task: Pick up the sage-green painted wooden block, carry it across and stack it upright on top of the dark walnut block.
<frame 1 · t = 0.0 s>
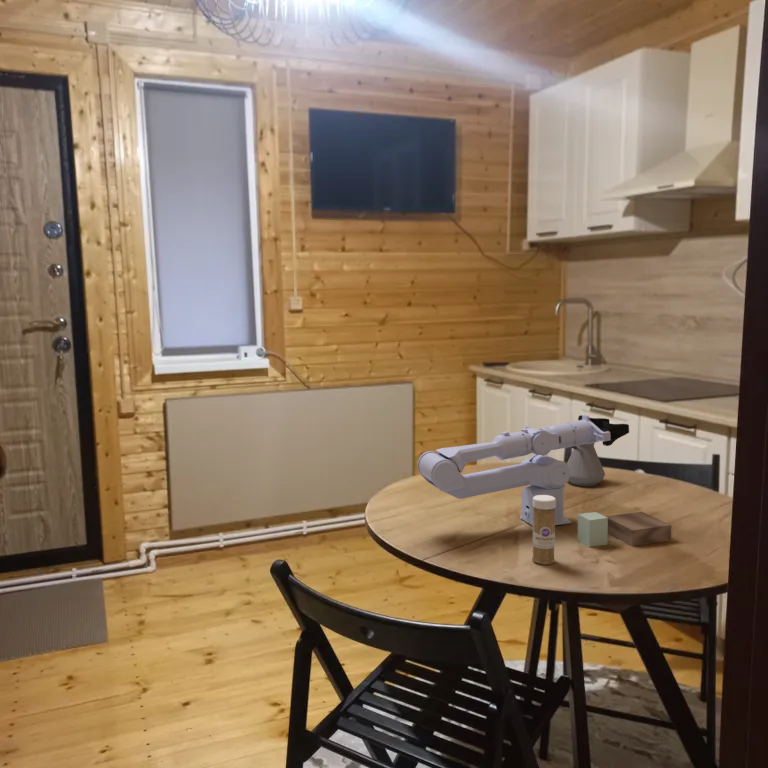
hand: (618, 425, 172), 22 cm above the table, fingers open, 7 cm apart
walnut block: (636, 535, 158), on the table
sage block: (592, 542, 154), on the table
coffee pot: (577, 487, 198), on the table
sprinkles bottle: (543, 562, 144), on the table
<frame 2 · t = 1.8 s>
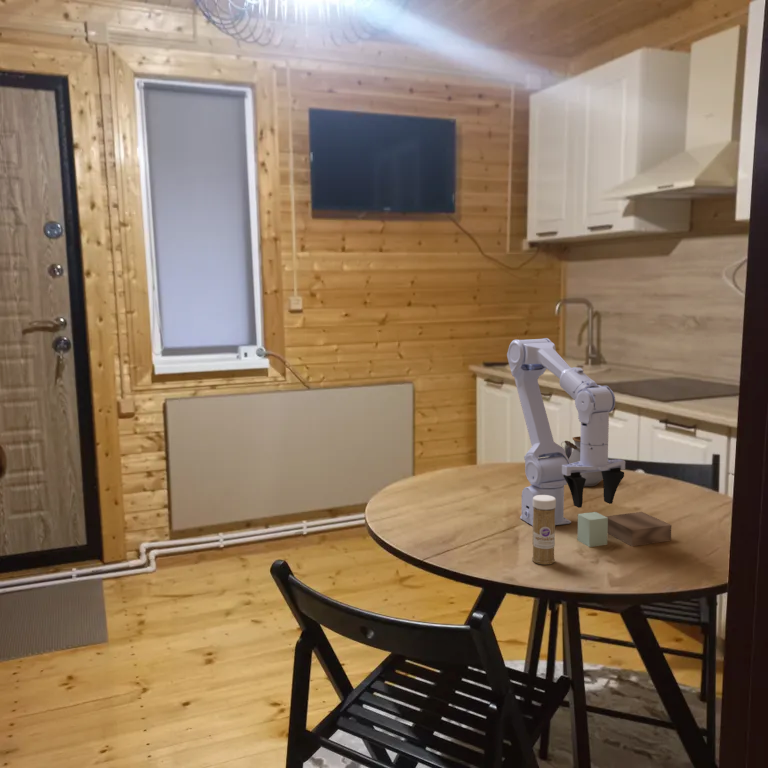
hand: (593, 504, 153), 9 cm above the table, fingers open, 7 cm apart
nothing on the table moved.
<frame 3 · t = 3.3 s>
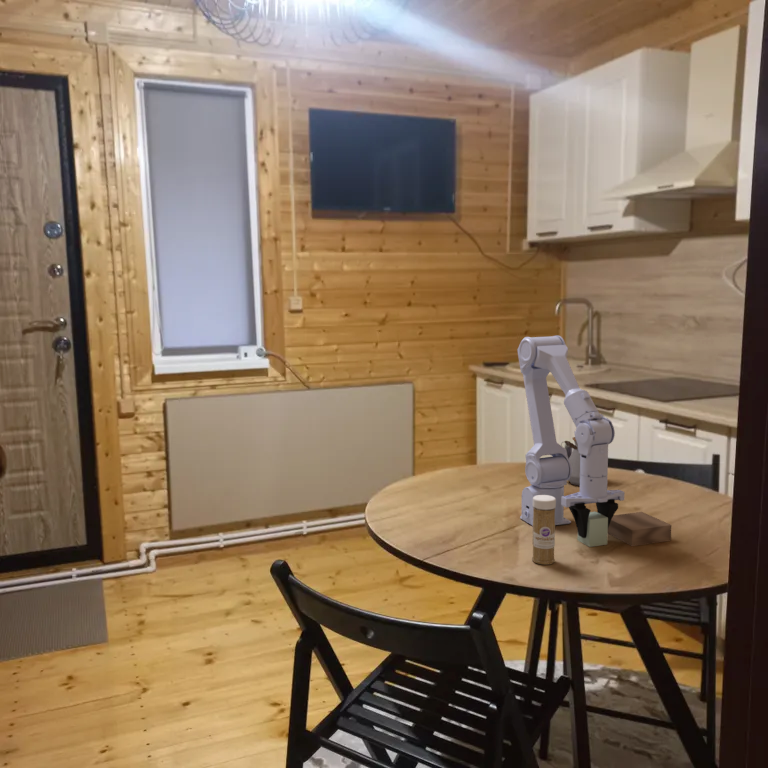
hand: (592, 535, 154), 2 cm above the table, fingers closed on sage block, 4 cm apart
sage block: (592, 542, 154), on the table, touching gripper
everything else where it was.
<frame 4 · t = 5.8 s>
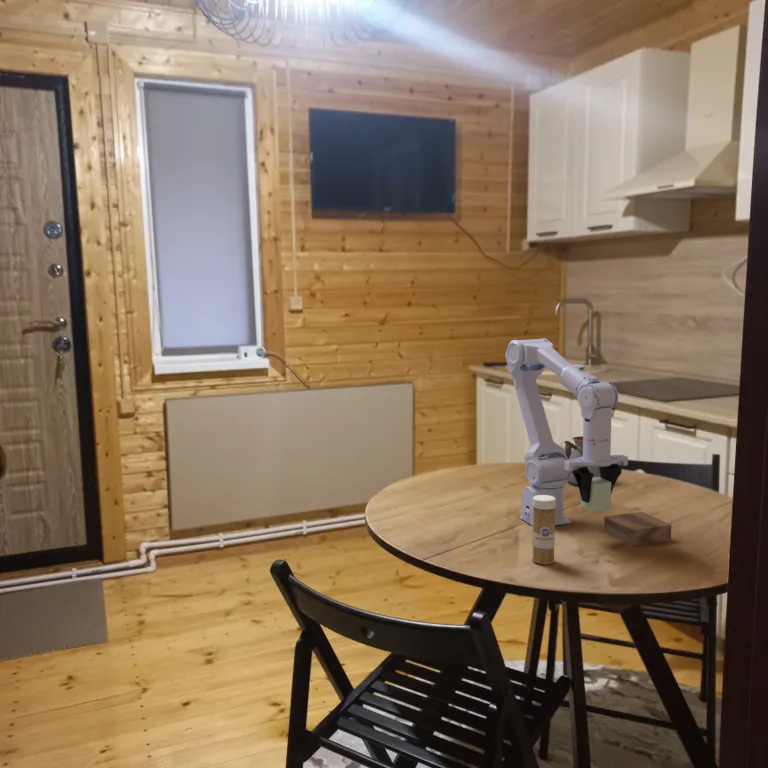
hand: (595, 500, 153), 9 cm above the table, fingers closed on sage block, 4 cm apart
sage block: (595, 507, 154), point 8 cm above the table, touching gripper
everything else where it was.
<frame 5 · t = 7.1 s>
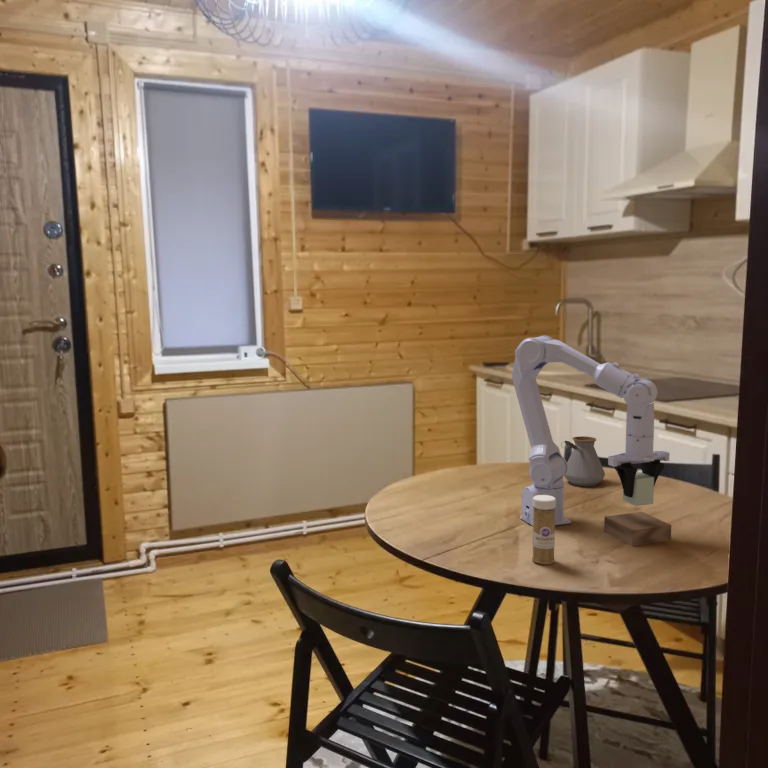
hand: (637, 495, 157), 9 cm above the table, fingers closed on sage block, 4 cm apart
sage block: (637, 502, 157), point 8 cm above the table, touching gripper
everything else where it was.
when the fingers open (6 cm above the table, at t = 8.3 s): sage block stays where it is, resting on walnut block.
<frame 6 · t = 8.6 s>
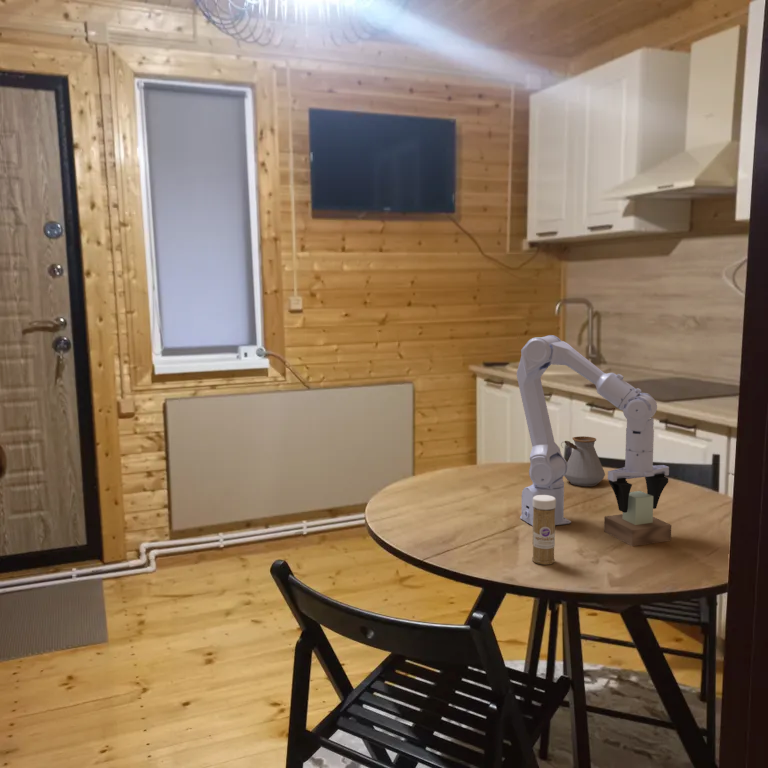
hand: (637, 509, 157), 6 cm above the table, fingers open, 7 cm apart
sage block: (637, 520, 157), point 3 cm above the table, touching walnut block
everything else where it was.
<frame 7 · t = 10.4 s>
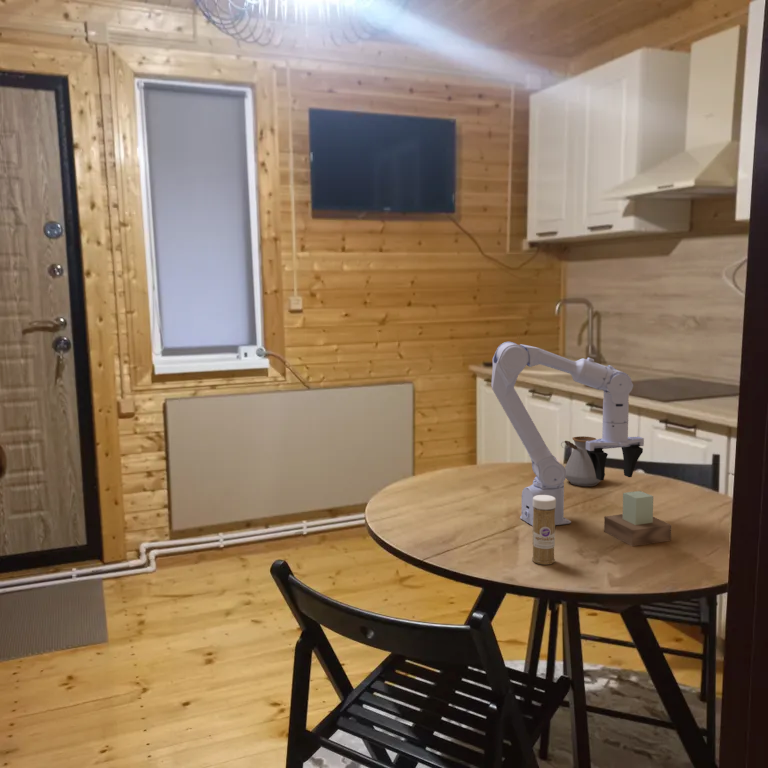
hand: (614, 477, 167), 10 cm above the table, fingers open, 7 cm apart
nothing on the table moved.
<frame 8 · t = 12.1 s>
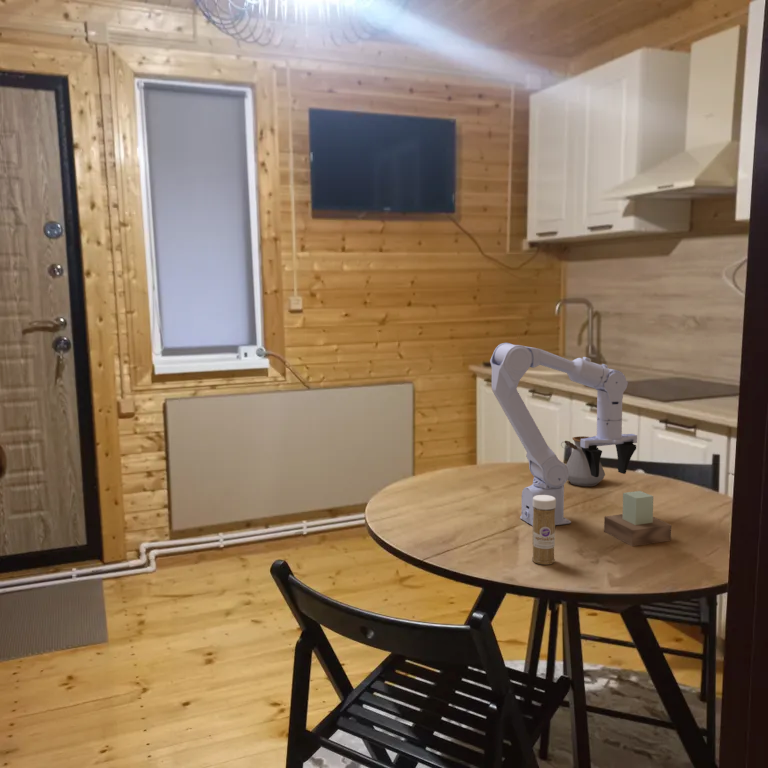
hand: (608, 474, 170), 10 cm above the table, fingers open, 7 cm apart
nothing on the table moved.
at the end: sage block 0.1 cm off-centre on the walnut block, point 3.5 cm above the walnut block's base; sage block tilted 0°; the gripper is holding nothing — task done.
